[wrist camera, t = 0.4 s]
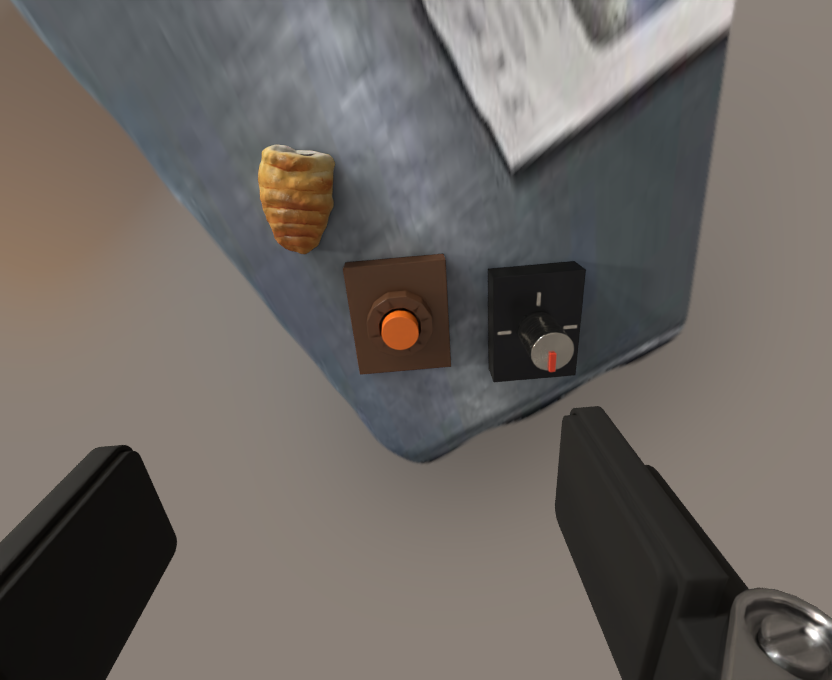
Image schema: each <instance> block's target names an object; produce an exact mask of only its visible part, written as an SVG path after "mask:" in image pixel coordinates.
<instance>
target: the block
mask: <svg viewBox="0 0 832 680" xmlns="http://www.w3.org/2000/svg"><path fill="white" fill-rule="evenodd" d="M343 273H344V279H345V285H346V291H347V297H348V303H349V310H350V316H351V322H352V328H353V334H354V340H355V346H356V353H357V359H358V365H359V371H360V374H371V373H383V372H394V371H405V370H417V369H428V368H440V367H451V356H450V337H449V318H448V298H447V279H446V260H445V257H444V254H434V255H423V256H412V257H401V258H390V259H378V260H367V261H356V262H346V263H345V265H344V267H343ZM395 310H405V311H408V312H410V313H411V314H413V315H414V316H415V318H416V319H417V322H418V329H419V336H418V339H417V341H416V343H415V344H414V345H413V346H411V347H410V348H408V349H404V350H396V349H393V348H391V347H389V346H388V345H387V344H386V343H385V342H384V340H383V338H382V323H383V320H384V318H385V317H386V316H387V315H388V314H389V313H390V312H392V311H395Z"/></svg>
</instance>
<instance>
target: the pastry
mask: <svg viewBox="0 0 832 680" xmlns="http://www.w3.org/2000/svg"><path fill="white" fill-rule="evenodd" d="M334 167H335V162H334V159H333V158H332V157H331V156H330V155H329V154H324V153H319V152H316V151H304V150H298V151H296V150H294V149H292V148H290V147H288V146H285V145H272V146H270V147H267V148H266V149H264V150H263V152H262V160H261V163H260V166H259V173H258V182H259V187H260V200H261V202H262V206H263V211H264V213H265V214H266V218H267V221H268V222H269V224H270V226H271V228H272V231H273V233H274V237H275V239H276V240H277V242H278V243H279V244H280V245H281V246H283V247H284V248H285V249H288V250H290V251H294V252H298V253H300V254H307V253H308V252H310V251H311V250H312V249H314V248H315V247H317V246H318V245H319V242H320V239H321V236H322V234H323V232H324V230H325V229H326V227H327V223H328V217H329V214H330V212H331V210H332V209H333V205H334V201H333V198H332V192H333V170H334Z"/></svg>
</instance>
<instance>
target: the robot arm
mask: <svg viewBox="0 0 832 680" xmlns="http://www.w3.org/2000/svg"><path fill="white" fill-rule="evenodd" d="M555 512H556V518H557V521H558V524H559V527H560V529H561V531H562V534H563V536H564V539H565V541H566V544H567V546H568V548H569V551H570V553H571V556H572V558H573V561H574V563H575V565H576V568H577V570H578V573H579V575H580V578H581V580H582V583H583V585H584V587H585V590H586V592H587V595H588V597H589V600H590V602H591V605H592V607H593V610H594V612H595V614H596V617H597V619H598V622H599V624H600V626H601V629H602V631H603V634H604V636H605V639H606V641H607V644H608V646H609V649H610V651H611V653H612V656H613V658H614V661H615V663H616V665H617V668H618V671H619V673H620V675H621V678H622V680H832V618H831V617H829V616H828V615H826V614H825V613H824V612H823V611H821V610H820V609H818V608H817V607H816V606H814V605H812V604H810V603H808V602H806V601H804V600H802V599H800V598H799V597H797V596H794V595H791V594H788V593H785V592H782V591H779V590H775V589H767V588H754V589H748V587H747V586H746V585H745V583H744V582H743V581H742V580H741V578H740V577H739V576H738V574H737V573H736V572H735V571H734V569H733V568H732V567H731V565H730V564H729V563H728V562H727V561H726V559H725V558H724V556H723V555H722V554H721V552H720V551H719V550H718V549H717V547H716V546H715V545H714V543H713V542H712V541H711V540H710V538H709V537H708V536H707V535H706V533H705V532H704V531H703V529H702V528H701V527H700V525H699V524H698V523H697V522H696V520H695V519H694V518H693V516H692V515H691V514H690V512H689V511H688V510H687V509H686V507H685V506H684V505H683V504H682V502H681V501H680V500H679V498H678V497H677V496H676V494H675V493H674V492H673V491H672V489H671V488H670V487H669V485H668V484H667V483H666V481H665V480H664V479H663V478H662V476H661V475H660V474H659V473H658V471H657V470H656V469H655V468H654V467H651V466H650V465H644V463H643V462H642V461H641V459H640V458H639V457H638V455H637V454H636V453H635V451H634V450H633V449H632V447H631V446H630V445H629V443H628V442H627V441H626V439H625V438H624V437H623V435H622V434H621V433H620V431H619V430H618V429H617V427H616V426H615V425H614V423H613V422H612V421H611V419H610V418H609V417H608V415H607V414H606V413H605V411H604V410H603V409H602V408H601V407H599V406H595V407H583V408H573V409H572V410H571V412H570V415H568V416H564V417H563V420H562V430H561V442H560V453H559V466H558V477H557V488H556V500H555ZM176 546H177V538H176V535H175V533H174V530H173V528H172V526H171V524H170V521H169V519H168V517H167V515H166V513H165V510H164V508H163V506H162V503H161V501H160V499H159V497H158V494H157V492H156V490H155V488H154V486H153V483H152V481H151V479H150V477H149V474H148V472H147V470H146V468H145V465H144V463H143V461H142V459H141V457H140V455H139V453H137V452H136V451H133V450H132V448H130V447H129V446H126V445H118V446H106V447H98V448H95V449H93V450H92V451H91V452H90V453H89V454H88V455H87V456H86V457H85V458H84V459H83V460H82V461H81V462H80V463H79V464H78V465H77V466H76V467H75V468H74V469H73V470H72V471H71V472H70V473H69V474H68V475H67V476H66V477H65V478H64V479H63V480H62V481H61V482H60V483H59V484H58V485H57V486H56V487H55V488H54V489H53V490H52V491H51V492H50V493H49V494H48V495H47V496H46V497H45V498H44V499H43V500H42V501H41V502H40V503H39V504H38V505H37V506H36V507H35V508H34V509H33V510H32V511H31V512H30V513H29V514H28V515H27V516H26V517H25V518H24V519H23V520H22V521H21V523H19V524H18V525H17V526H16V527H15V528H14V529H13V530H12V531H11V532H10V533H9V534H8V535H7V536H6V537H5V538H4V539H3V540H2V541H1V542H0V680H106V678H107V676H108V674H109V673H110V671H111V669H112V667H113V665H114V663H115V661H116V660H117V658H118V656H119V654H120V652H121V650H122V649H123V647H124V645H125V643H126V641H127V640H128V638H129V636H130V634H131V632H132V630H133V629H134V627H135V625H136V623H137V621H138V619H139V618H140V616H141V614H142V612H143V610H144V608H145V607H146V605H147V603H148V601H149V599H150V597H151V595H152V594H153V592H154V590H155V588H156V587H157V585H158V583H159V581H160V579H161V577H162V575H163V574H164V572H165V570H166V568H167V566H168V564H169V562H170V561H171V559H172V557H173V555H174V553H175V551H176Z"/></svg>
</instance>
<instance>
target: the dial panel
mask: <svg viewBox="0 0 832 680" xmlns="http://www.w3.org/2000/svg"><path fill="white" fill-rule="evenodd" d="M585 271H586V269H584V268H583V267H582V266H580V265H579V264H578V263H576V262H575V261H570V262H559V263H548V264H537V265H525V266H514V267H503V268H492V269H488V358H489V371H490V374H491V376H492V379H493V382H502V381H514V380H525V379H537V378H548V377H559V376H571V375H575V373H576V363H577V353H578V343H579V332H580V322H581V312H582V302H583V292H584V282H585ZM535 312H545V313H548V314H550V315H551V316H552V317H553V318H554V319H555V320H556V322H557V323H558V324H559V325H560V326H561V328H562V329H563V330H564V331H565V333H566V334H567V335H568V336H569V337H570V339H571V340H572V342H573V345H574V352H573V356H572V358H571V359H570V361H569V362H568V363H567V364H566V365H564V366H563V367H561V368H559V369H556V370H555V372H549V371H548V370H543V369H540V368H538V367H537V366H536V365H535V364H534V363H533V361H532V360H531V358H530V356H529V354H528V353H527V351H526V349H525V347H524V346H523V344H522V342H521V340H520V339H519V336H518V328H519V325H520V323H521V322H522V320H523V319H524V318H525V317H526V316H528V315H530V314H532V313H535Z"/></svg>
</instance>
